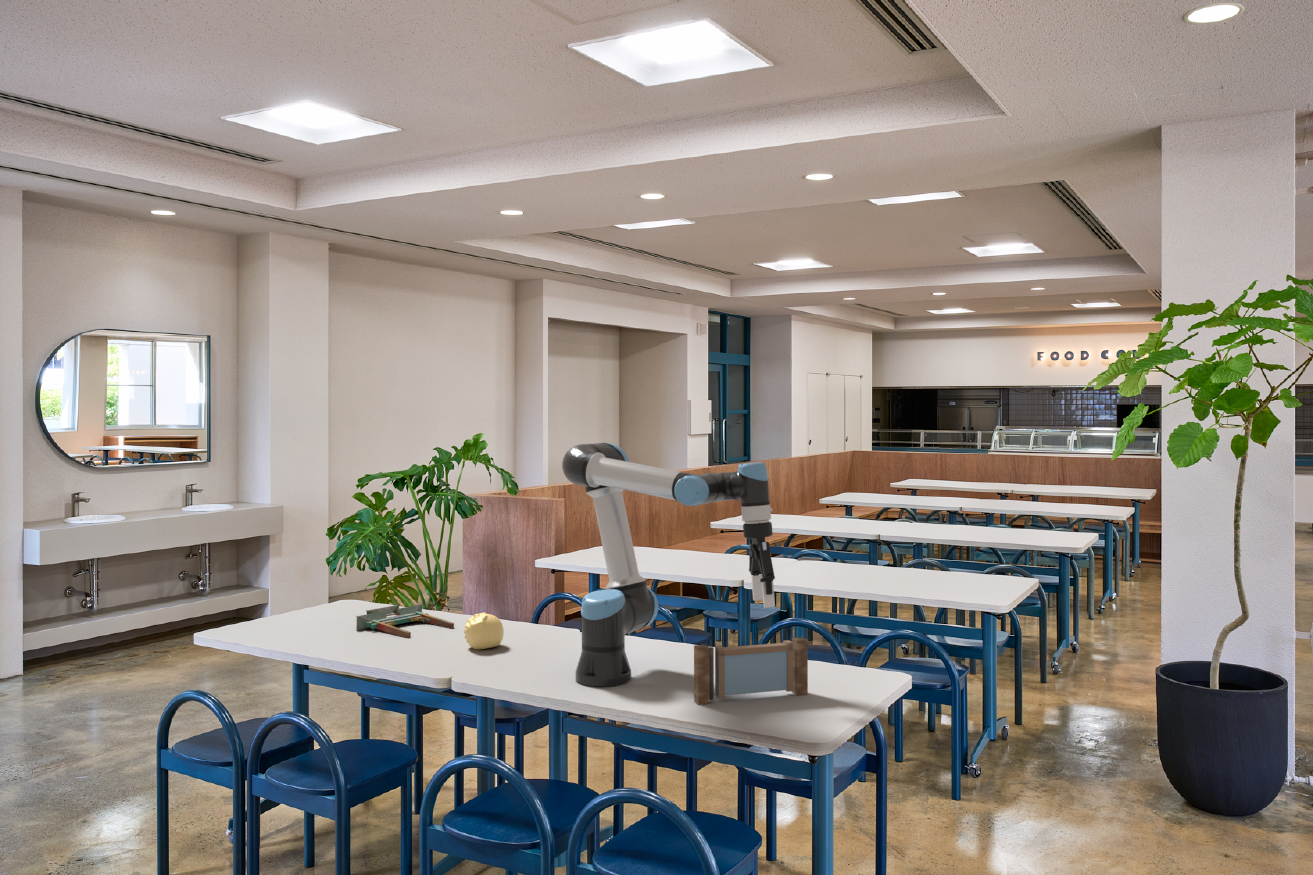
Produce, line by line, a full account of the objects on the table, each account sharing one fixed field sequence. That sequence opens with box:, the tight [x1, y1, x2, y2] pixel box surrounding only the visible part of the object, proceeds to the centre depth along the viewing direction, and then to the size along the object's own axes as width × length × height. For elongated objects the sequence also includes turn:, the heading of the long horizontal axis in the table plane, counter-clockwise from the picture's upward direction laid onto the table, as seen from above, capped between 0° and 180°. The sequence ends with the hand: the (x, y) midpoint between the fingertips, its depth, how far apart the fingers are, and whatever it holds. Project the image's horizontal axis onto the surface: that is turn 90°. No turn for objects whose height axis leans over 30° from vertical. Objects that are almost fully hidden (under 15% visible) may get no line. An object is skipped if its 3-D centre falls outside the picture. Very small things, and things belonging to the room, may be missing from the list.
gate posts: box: [693, 636, 809, 706], centre depth 240 cm, size 30×3×14 cm, turn 106°
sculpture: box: [463, 611, 504, 650], centre depth 296 cm, size 12×12×11 cm
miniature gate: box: [355, 603, 455, 639], centre depth 326 cm, size 27×6×30 cm
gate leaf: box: [714, 639, 793, 699], centre depth 241 cm, size 20×3×12 cm, turn 106°
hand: (763, 603), depth 248 cm, fingers open, 13 cm apart
